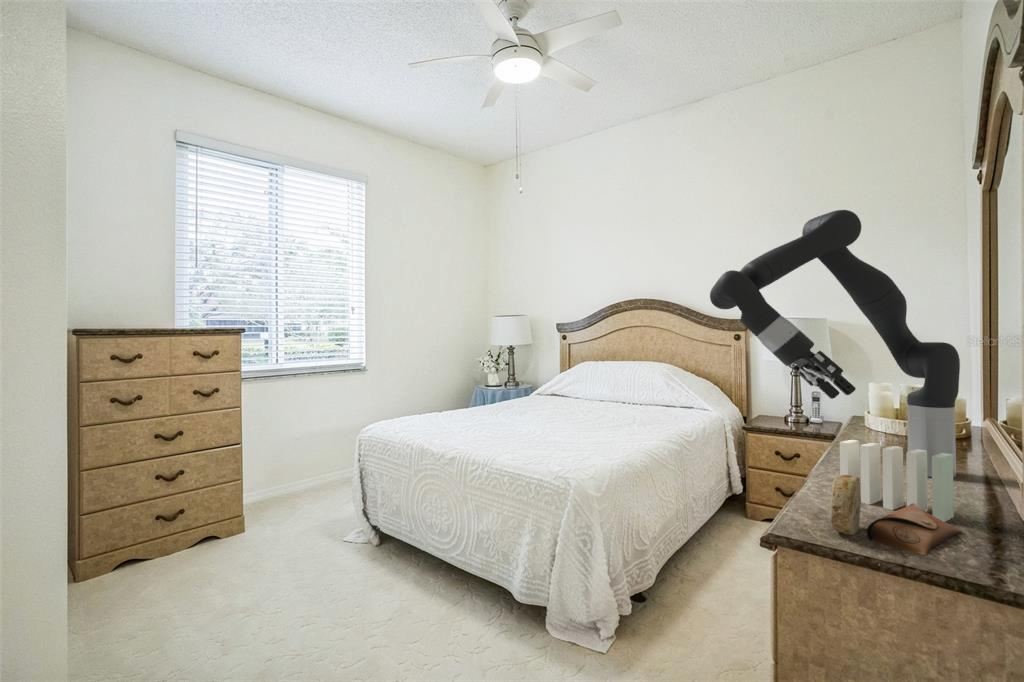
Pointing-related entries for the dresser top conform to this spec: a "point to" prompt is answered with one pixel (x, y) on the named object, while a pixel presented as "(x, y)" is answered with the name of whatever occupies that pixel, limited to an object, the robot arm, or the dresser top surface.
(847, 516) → the stone disc
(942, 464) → the domino
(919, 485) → the domino
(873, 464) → the domino
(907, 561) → the dresser top surface
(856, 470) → the domino
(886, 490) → the domino
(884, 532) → the sunglasses case
